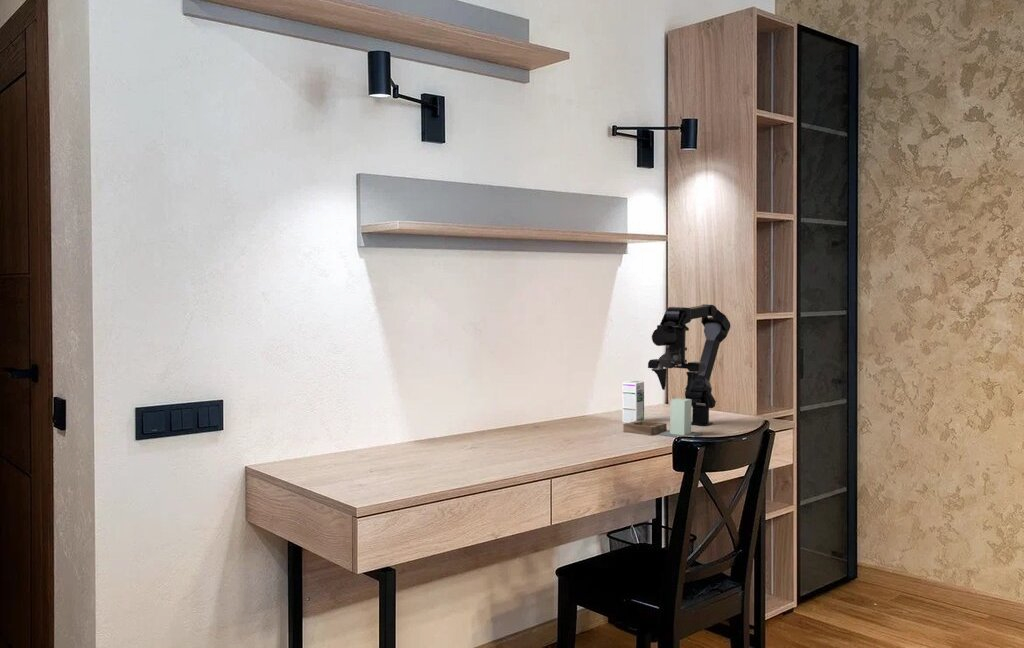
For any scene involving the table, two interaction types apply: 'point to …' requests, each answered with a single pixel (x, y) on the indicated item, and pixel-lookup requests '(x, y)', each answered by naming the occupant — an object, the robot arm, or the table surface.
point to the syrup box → (632, 401)
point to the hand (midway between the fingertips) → (675, 390)
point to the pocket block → (644, 427)
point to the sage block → (680, 416)
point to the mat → (680, 435)
